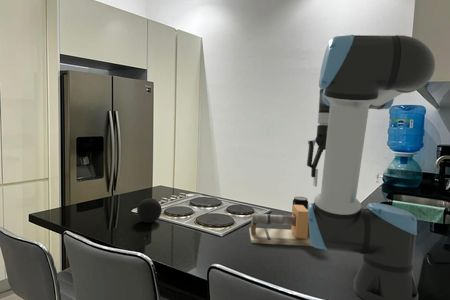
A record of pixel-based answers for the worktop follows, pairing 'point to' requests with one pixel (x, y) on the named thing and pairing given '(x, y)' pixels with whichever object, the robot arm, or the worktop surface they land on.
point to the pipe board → (275, 230)
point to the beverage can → (300, 201)
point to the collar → (300, 221)
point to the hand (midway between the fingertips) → (323, 186)
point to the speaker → (149, 210)
